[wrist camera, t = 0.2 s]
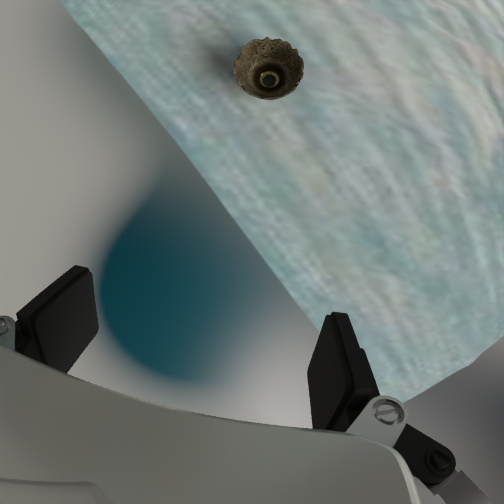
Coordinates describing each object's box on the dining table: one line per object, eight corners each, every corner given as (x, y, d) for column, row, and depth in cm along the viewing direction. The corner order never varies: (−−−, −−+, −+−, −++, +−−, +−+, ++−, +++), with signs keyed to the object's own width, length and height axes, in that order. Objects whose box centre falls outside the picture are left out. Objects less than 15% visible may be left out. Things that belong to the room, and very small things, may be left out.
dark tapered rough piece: (259, 46, 33) (256, 26, 25) (307, 72, 34) (316, 57, 26) (230, 90, 35) (220, 79, 28) (279, 117, 36) (281, 111, 29)
